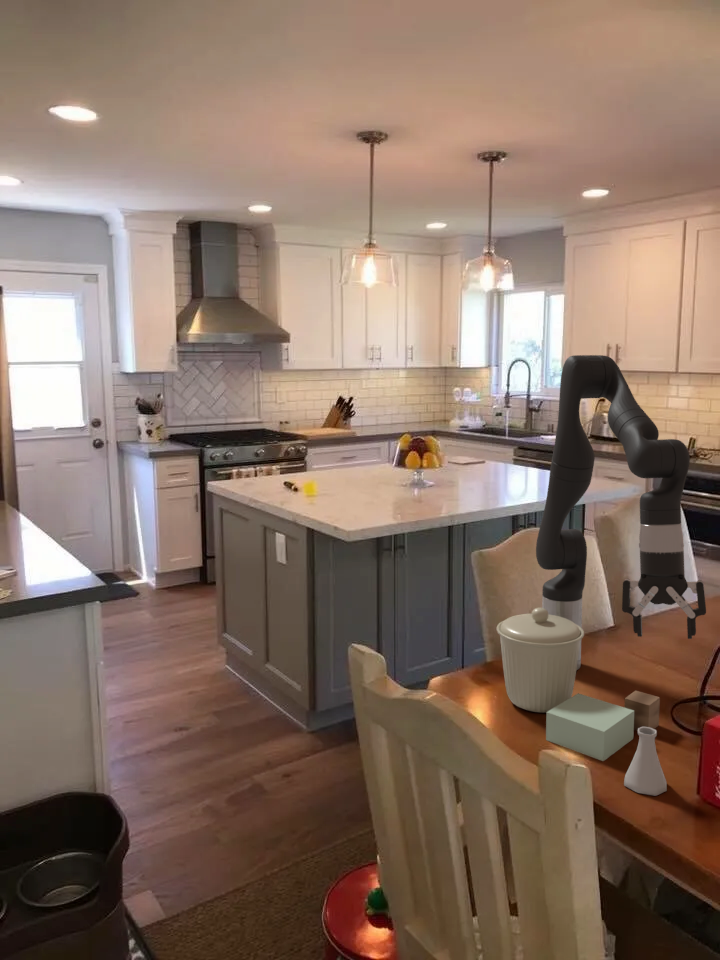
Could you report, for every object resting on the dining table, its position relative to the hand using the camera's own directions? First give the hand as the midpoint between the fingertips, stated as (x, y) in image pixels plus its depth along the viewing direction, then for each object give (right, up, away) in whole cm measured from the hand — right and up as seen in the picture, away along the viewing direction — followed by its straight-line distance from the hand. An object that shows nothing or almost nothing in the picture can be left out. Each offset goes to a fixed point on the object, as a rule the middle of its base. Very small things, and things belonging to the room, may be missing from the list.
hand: (664, 636), depth 143 cm
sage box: (-11, -22, +9) cm, 26 cm away
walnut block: (+1, -21, +14) cm, 25 cm away
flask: (-6, -24, -8) cm, 26 cm away
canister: (-17, -19, +25) cm, 36 cm away
